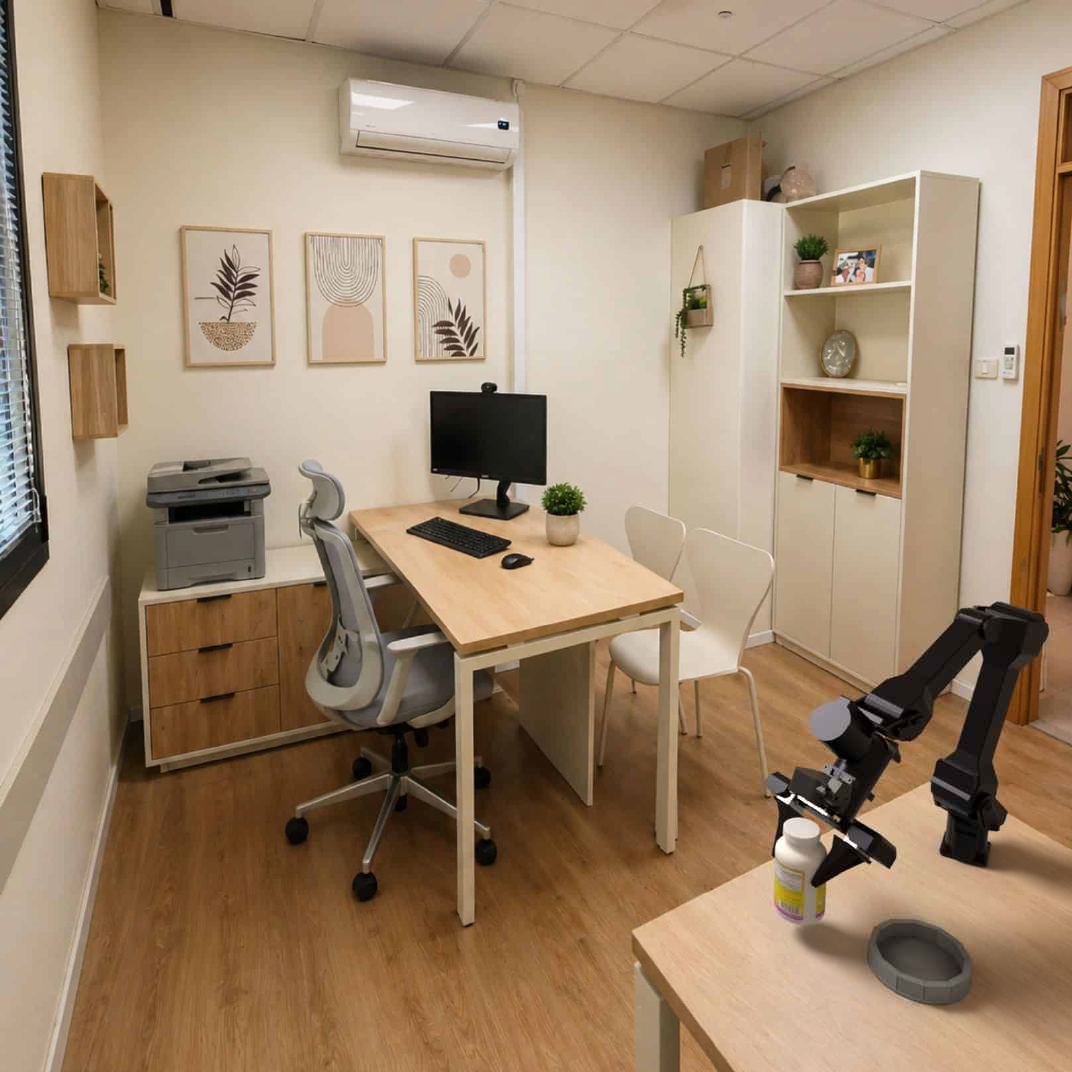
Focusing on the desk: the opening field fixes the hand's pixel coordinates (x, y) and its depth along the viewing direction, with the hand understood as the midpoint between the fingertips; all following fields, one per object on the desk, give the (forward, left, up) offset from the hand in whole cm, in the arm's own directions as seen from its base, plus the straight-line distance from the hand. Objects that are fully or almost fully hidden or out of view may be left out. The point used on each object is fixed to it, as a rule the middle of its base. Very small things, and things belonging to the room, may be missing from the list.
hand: (792, 871), depth 109 cm
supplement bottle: (-1, +1, -7) cm, 7 cm away
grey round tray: (-2, +16, -10) cm, 18 cm away
